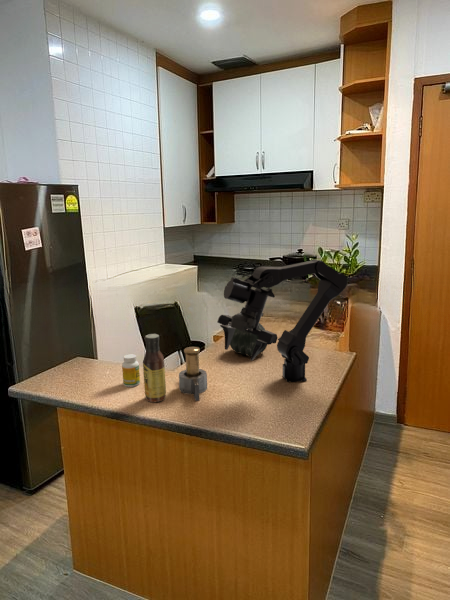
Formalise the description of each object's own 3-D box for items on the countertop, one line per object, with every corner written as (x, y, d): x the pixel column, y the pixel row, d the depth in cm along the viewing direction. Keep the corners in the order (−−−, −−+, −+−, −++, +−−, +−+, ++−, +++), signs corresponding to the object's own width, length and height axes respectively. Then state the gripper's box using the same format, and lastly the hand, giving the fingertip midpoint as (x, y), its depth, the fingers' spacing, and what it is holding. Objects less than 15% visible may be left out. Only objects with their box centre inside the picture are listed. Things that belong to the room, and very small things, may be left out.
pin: (203, 387, 140) (202, 347, 137) (196, 392, 136) (194, 352, 133) (190, 384, 142) (189, 346, 140) (182, 390, 138) (181, 350, 135)
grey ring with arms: (177, 379, 147) (176, 364, 146) (202, 376, 149) (201, 362, 148) (183, 402, 129) (182, 386, 128) (211, 399, 131) (211, 383, 130)
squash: (240, 331, 182) (231, 310, 171) (275, 335, 176) (268, 314, 165) (229, 361, 175) (219, 341, 163) (266, 367, 169) (258, 346, 158)
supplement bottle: (125, 381, 146) (123, 353, 144) (141, 380, 147) (139, 353, 145) (122, 387, 141) (119, 359, 139) (138, 387, 141) (136, 358, 139)
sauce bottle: (146, 395, 135) (142, 332, 131) (166, 393, 136) (163, 331, 132) (144, 404, 129) (139, 338, 125) (165, 403, 129) (162, 337, 125)
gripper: (216, 295, 133) (200, 344, 134) (271, 315, 124) (253, 367, 125) (233, 298, 142) (218, 344, 144) (285, 317, 134) (268, 365, 135)
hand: (238, 354), depth 137 cm, fingers open, 9 cm apart
